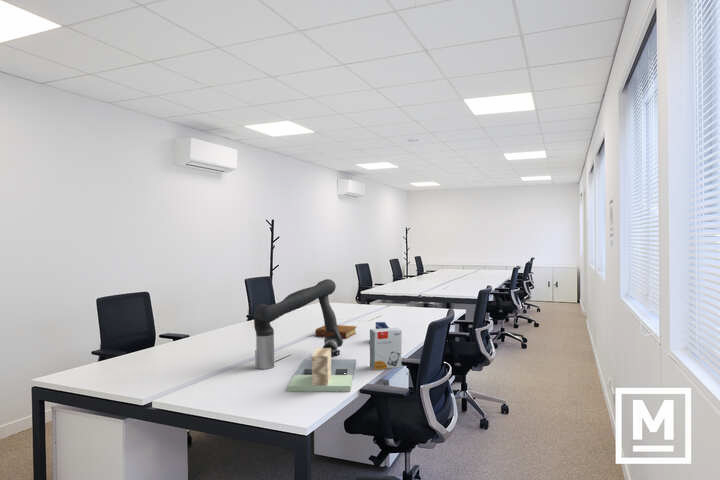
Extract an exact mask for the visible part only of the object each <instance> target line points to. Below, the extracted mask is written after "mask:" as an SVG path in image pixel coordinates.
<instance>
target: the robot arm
mask: <svg viewBox="0 0 720 480" xmlns="http://www.w3.org/2000/svg"><path fill="white" fill-rule="evenodd" d="M336 287H337V284H336V283H335V281H334V280H333V279H329V278H325V279H323V280H321V281H319V282H317V284H316V285H313V286H310V287H306V288H301V289H300V290H297V291H294V292H292V293H290V294H288V295H287V296H286V297H284V299H282V300H281V301H279V302H277V303H274V304H267V303H266V304H265V303H260V304H258V305H256V306H255V309H254V312H253V323H254V324H253V325H254V326H253V328H254V331H255V341H256V342H255V343H256V344H255V347H256V349H255V351H254V352H255V354H254V356H255V357H254V358H255V360H254V361H255V367H254V368H255V369H259V370H268V369H273V368H274V367H275V336H274V335H275V330H274V328H273V327H272V324H271V322H274V321H275V320H278V319H279V318H280V317H282V316H284V315H286V314H289V313H292V312H293V311H296V310H298V309H301V308H303V307H305V306H306V305H309V304H311V303H312V302H315V301H316V300H317V299H318V302H319V305H320V308H321V312H322V317H323V322H324V325H325V329H326V331H327V332H334V333H335V335H332V336H327V337H324V339H323V342H324V345H323V346H322V348H331V358H335V357H338V356H340V355H341V351H340V349H338V348H341V347H342V346H343V343H344V341H343V340H344V339H342V337H341V335H340V333H339V331H338V327H337V325H338V322H337V317H336V314H335V311H334V310H333V308H332V306H331V304H330V301H329V296H330V295H332V294H333V293H335V291H336Z"/></svg>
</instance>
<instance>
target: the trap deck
mask: <svg viewBox="0 0 720 480" xmlns="http://www.w3.org/2000/svg"><path fill="white" fill-rule="evenodd" d="M356 365H357V359H356V358H355V359H353V358H351V359H348V358H347V359H346V358H345V359H342V358H340V359H335V358H333V359H332V358H331V377H330V380H329V383H328V385H312V358H311V359H310V358H309V359H308V358H307V359H306V358H305V359H304V360H303V361H302V362H301V365H300V366H299V367H298V369H297V371H296V373H295V374H294V376H293V377H292V379H291V380H290V381H289V384H288V385H287V392H317V391H342V392H343V393H344V392H345V393H346V392H351V391H352V386H353V382H352V381H353V380H354V377H353V376H355V372H354V371H355V370H356V367H355V366H356ZM344 373H346V374H344Z"/></svg>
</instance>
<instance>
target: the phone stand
mask: <svg viewBox="0 0 720 480" xmlns="http://www.w3.org/2000/svg"><path fill="white" fill-rule="evenodd" d="M382 328H390V327H389V326H388V325H387V323H386V322H385V321H376V322H375V329H382Z"/></svg>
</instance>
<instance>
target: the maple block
mask: <svg viewBox="0 0 720 480" xmlns="http://www.w3.org/2000/svg"><path fill="white" fill-rule="evenodd" d="M311 359H312V385H328V383H329V380H330V377H331V359H332V357H331V348H323V347H316V348H315V350H314V352H313V354H312V355H311Z"/></svg>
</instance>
